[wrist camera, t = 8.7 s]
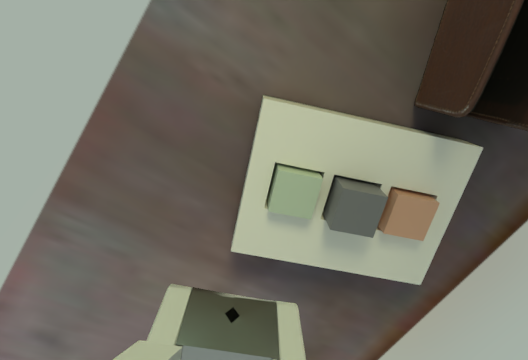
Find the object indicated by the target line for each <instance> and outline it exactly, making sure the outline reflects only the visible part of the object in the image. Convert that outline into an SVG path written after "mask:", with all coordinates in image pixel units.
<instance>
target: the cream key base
mask: <svg viewBox="0 0 528 360" xmlns="http://www.w3.org/2000/svg"><path fill="white" fill-rule="evenodd" d="M482 150H483V147H481V146H478V145H475V144H472V143H470V142H467V141H464V140H462V139H458V138H454V137H449V136H445V135H440V134H436V133H432V132H427V131H423V130H418V129H414V128H409V127H405V126H401V125H396V124H392V123H387V122H383V121H378V120H374V119H369V118H365V117H361V116H356V115H352V114H347V113H343V112H338V111H334V110H329V109H325V108H321V107H316V106H312V105H307V104H303V103H298V102H294V101H289V100H285V99H281V98H276V97H272V96H267V95H263V96H262V101H261V106H260V111H259V115H258V120H257V125H256V129H255V134H254V139H253V144H252V148H251V153H250V158H249V162H248V167H247V172H246V176H245V181H244V186H243V191H242V195H241V200H240V205H239V209H238V214H237V219H236V224H235V228H234V233H233V240H232V247H231V251H232V252H238V253H243V254H249V255H254V256H260V257H266V258H271V259H277V260H282V261H288V262H294V263H299V264H305V265H310V266H316V267H322V268H327V269H333V270H339V271H344V272H350V273H355V274H361V275H367V276H372V277H378V278H383V279H389V280H395V281H400V282H406V283H411V284H417V285H421V283H422V281H423V279H424V276H425V274H426V272H427V270H428V268H429V265H430V263H431V261H432V259H433V257H434V255H435V252H436V250H437V248H438V246H439V244H440V242H441V239H442V237H443V235H444V233H445V231H446V228H447V226H448V224H449V222H450V220H451V218H452V215H453V213H454V211H455V209H456V207H457V204H458V202H459V200H460V198H461V196H462V194H463V191H464V189H465V187H466V185H467V183H468V180H469V178H470V176H471V174H472V172H473V170H474V167H475V165H476V163H477V161H478V159H479V156H480V154H481V152H482ZM276 163H281V164H286V165H291V166H296V167H300V168H305V169H310V170H315V171H319V173H320V175H321V176H322V178H323V181H322V184H321V188H320V191H319V195H318V198H317V201H316V205H315V208H314V211H313V215H312V218H311V219H306V218H300V217H295V216H290V215H285V214H279V213H274V212H269V211H268V201H267V198H268V193H269V189H270V185H271V181H272V177H273V173H274V169H275V165H276ZM335 176H336V177H341V178H345V179H350V180H355V181H360V182H365V183H370V184H375V185H377V186H378V187H379V188H380V189H381V190H382V191H383V192H384V193H385V194H386V195H387V196H388V194H389V191H390V189H391V186H392V187H397V188H402V189H407V190H412V191H417V192H422V193H426V194H429V195H430V196H431V197H433V198H434V199H435V200H437V201H438V202H439V203H440V204H439V206H438V209H437V211H436V213H435V216H434V218H433V220H432V222H431V225H430V227H429V229H428V231H427V234H426V236H425V238H424V241H420V240H415V239H410V238H405V237H399V236H394V235H389V234H384V233H383V232H382V231H381V230H380V228H379V227H378V226H377V229H376V231H375V234H374V237H373V238H371V237H366V236H360V235H355V234H350V233H344V232H339V231H334V230H330V229H329V226H328V224H327V222H326V220H325V217H324V215H323V214H324V211H325V208H326V205H327V201H328V198H329V195H330V192H331V188H332V185H333V182H334V179H335Z"/></svg>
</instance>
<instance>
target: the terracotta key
mask: <svg viewBox="0 0 528 360" xmlns="http://www.w3.org/2000/svg"><path fill="white" fill-rule="evenodd" d="M439 204H440V203H439V202H438V201H437V200H435V199H434V198H433V197H431V196H430V195H429V194H426V193H422V192H417V191H412V190H407V189H402V188H397V187H392V186H391V189H390V191H389V194H388V200H387V202H386V205H385V208H384V210H383V213H382V216H381V218H380V221H379V223H378V227H379V228H380V230H381V231H382V232H383V233H384V234H389V235H394V236H399V237H405V238H410V239H415V240H420V241H424V238H425V236H426V234H427V231H428V229H429V227H430V225H431V222H432V220H433V218H434V216H435V213H436V211H437V209H438V206H439Z"/></svg>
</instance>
